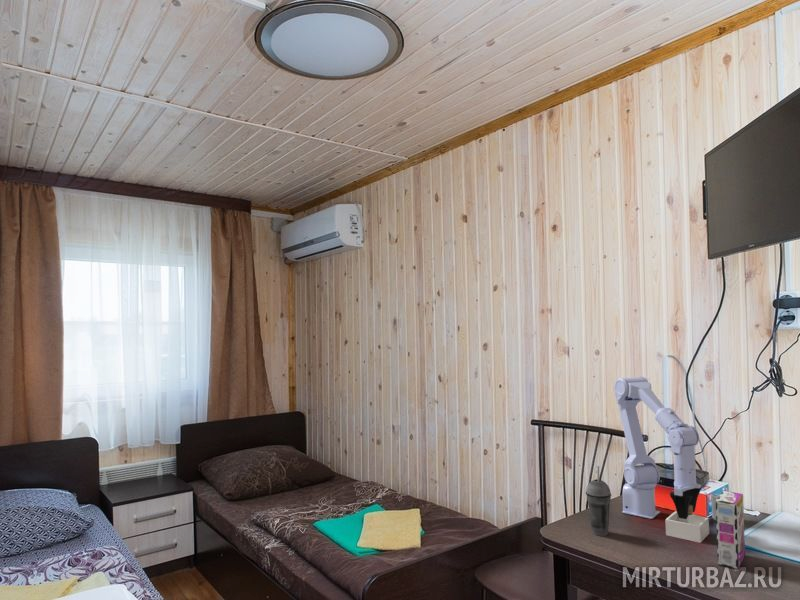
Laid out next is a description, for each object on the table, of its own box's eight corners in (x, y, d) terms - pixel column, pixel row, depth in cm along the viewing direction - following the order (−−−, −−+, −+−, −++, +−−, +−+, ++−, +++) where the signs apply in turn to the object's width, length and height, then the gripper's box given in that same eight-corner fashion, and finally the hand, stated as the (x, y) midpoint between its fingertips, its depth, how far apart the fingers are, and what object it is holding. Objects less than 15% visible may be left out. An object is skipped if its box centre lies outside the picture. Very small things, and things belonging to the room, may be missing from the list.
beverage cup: (609, 528, 169) (606, 462, 170) (616, 537, 162) (613, 468, 163) (584, 528, 170) (582, 462, 171) (590, 537, 162) (587, 468, 163)
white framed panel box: (666, 535, 163) (665, 519, 163) (677, 524, 171) (677, 509, 171) (700, 542, 157) (699, 526, 157) (711, 531, 165) (710, 515, 165)
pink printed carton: (740, 570, 139) (736, 503, 140) (717, 565, 142) (714, 500, 143) (746, 555, 148) (743, 492, 148) (725, 551, 151) (722, 489, 152)
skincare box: (742, 524, 170) (741, 500, 170) (722, 524, 170) (721, 500, 171) (730, 517, 176) (729, 494, 176) (711, 518, 176) (710, 494, 177)
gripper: (692, 475, 156) (694, 524, 155) (706, 465, 167) (708, 511, 166) (665, 471, 161) (667, 519, 160) (680, 461, 172) (683, 506, 171)
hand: (686, 514), depth 163 cm, fingers open, 7 cm apart
